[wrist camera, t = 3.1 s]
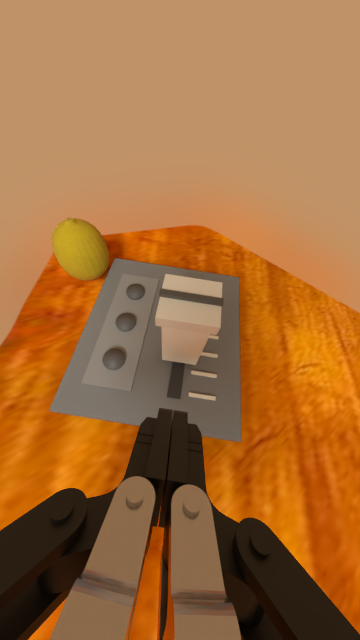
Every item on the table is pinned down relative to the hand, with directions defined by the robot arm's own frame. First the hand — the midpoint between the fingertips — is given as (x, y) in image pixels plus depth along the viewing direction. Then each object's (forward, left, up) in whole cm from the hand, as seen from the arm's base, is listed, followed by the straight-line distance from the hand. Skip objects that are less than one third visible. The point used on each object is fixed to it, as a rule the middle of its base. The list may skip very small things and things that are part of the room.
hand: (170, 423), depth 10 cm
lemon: (+13, -16, -9) cm, 22 cm away
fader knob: (0, -7, -6) cm, 9 cm away
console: (+2, -9, -9) cm, 13 cm away
